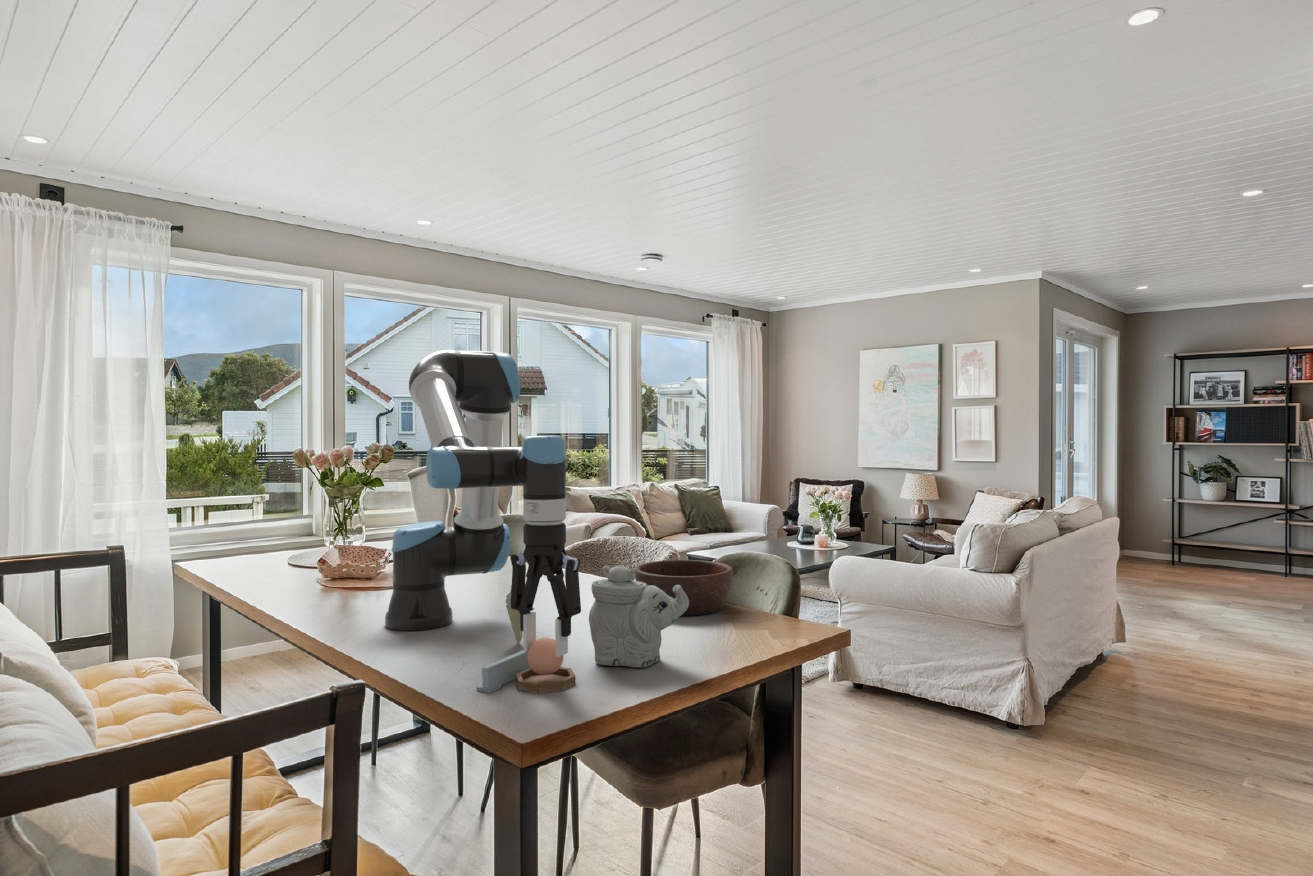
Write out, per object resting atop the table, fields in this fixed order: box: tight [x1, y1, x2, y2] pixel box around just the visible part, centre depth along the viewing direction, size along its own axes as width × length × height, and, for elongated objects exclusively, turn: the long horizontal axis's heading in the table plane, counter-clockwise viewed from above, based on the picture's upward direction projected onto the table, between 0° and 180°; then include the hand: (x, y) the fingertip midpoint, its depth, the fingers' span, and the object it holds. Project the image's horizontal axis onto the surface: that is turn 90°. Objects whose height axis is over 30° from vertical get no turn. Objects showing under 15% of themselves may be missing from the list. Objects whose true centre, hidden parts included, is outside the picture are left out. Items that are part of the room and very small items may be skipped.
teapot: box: [588, 564, 689, 668], centre depth 147 cm, size 16×15×19 cm
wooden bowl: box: [634, 559, 734, 617], centre depth 193 cm, size 25×25×10 cm
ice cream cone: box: [505, 585, 523, 645], centre depth 160 cm, size 5×5×15 cm
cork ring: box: [515, 666, 577, 694], centre depth 135 cm, size 10×10×2 cm
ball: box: [527, 637, 565, 675], centre depth 135 cm, size 6×6×6 cm
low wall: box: [476, 649, 531, 694], centre depth 139 cm, size 3×19×4 cm, turn 153°
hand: (545, 651), depth 135 cm, fingers closed on ball, 6 cm apart
